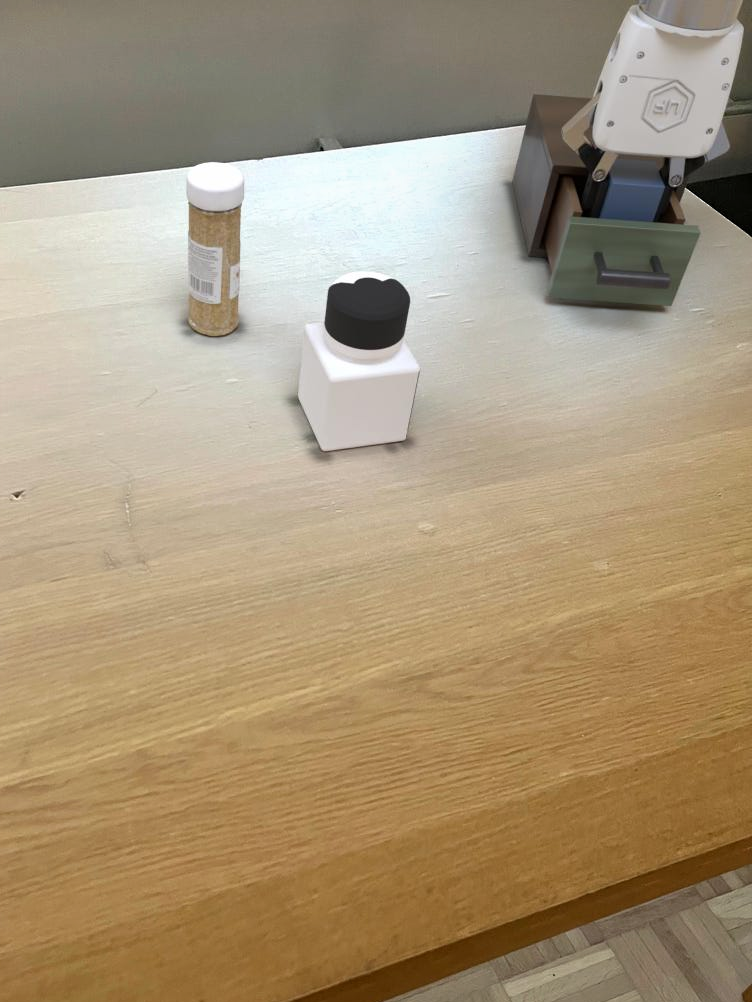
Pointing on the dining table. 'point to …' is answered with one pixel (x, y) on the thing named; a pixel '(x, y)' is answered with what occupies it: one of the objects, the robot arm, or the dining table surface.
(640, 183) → the block
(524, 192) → the cabinet
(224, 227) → the spice jar
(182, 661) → the dining table surface
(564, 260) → the drawer
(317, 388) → the medicine bottle
